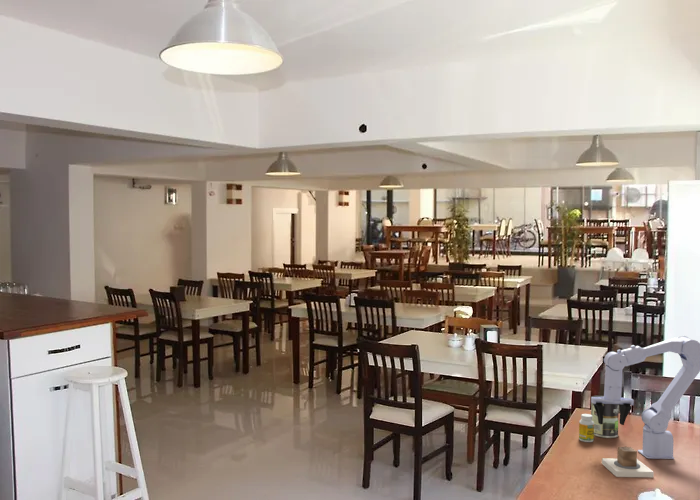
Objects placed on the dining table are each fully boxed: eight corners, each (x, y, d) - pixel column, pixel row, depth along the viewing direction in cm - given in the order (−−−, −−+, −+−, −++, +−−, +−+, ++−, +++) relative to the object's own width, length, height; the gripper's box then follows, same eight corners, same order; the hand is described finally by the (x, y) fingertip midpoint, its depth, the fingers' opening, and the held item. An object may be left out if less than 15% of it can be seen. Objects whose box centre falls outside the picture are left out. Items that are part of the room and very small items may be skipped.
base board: (636, 464, 222) (636, 458, 222) (653, 477, 210) (653, 471, 210) (601, 463, 221) (601, 457, 221) (616, 476, 209) (616, 470, 209)
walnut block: (630, 461, 218) (631, 446, 218) (636, 466, 214) (636, 451, 213) (617, 461, 218) (617, 446, 218) (622, 466, 214) (623, 451, 213)
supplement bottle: (584, 437, 250) (585, 412, 250) (596, 441, 246) (597, 415, 245) (575, 439, 247) (576, 414, 247) (587, 443, 243) (588, 417, 243)
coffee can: (620, 433, 256) (621, 397, 256) (615, 439, 247) (616, 403, 247) (593, 428, 262) (594, 393, 261) (587, 435, 253) (588, 399, 253)
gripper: (597, 388, 228) (595, 426, 228) (638, 389, 228) (636, 428, 228) (589, 383, 235) (587, 420, 235) (629, 384, 235) (627, 422, 235)
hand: (611, 423), depth 232 cm, fingers open, 7 cm apart
